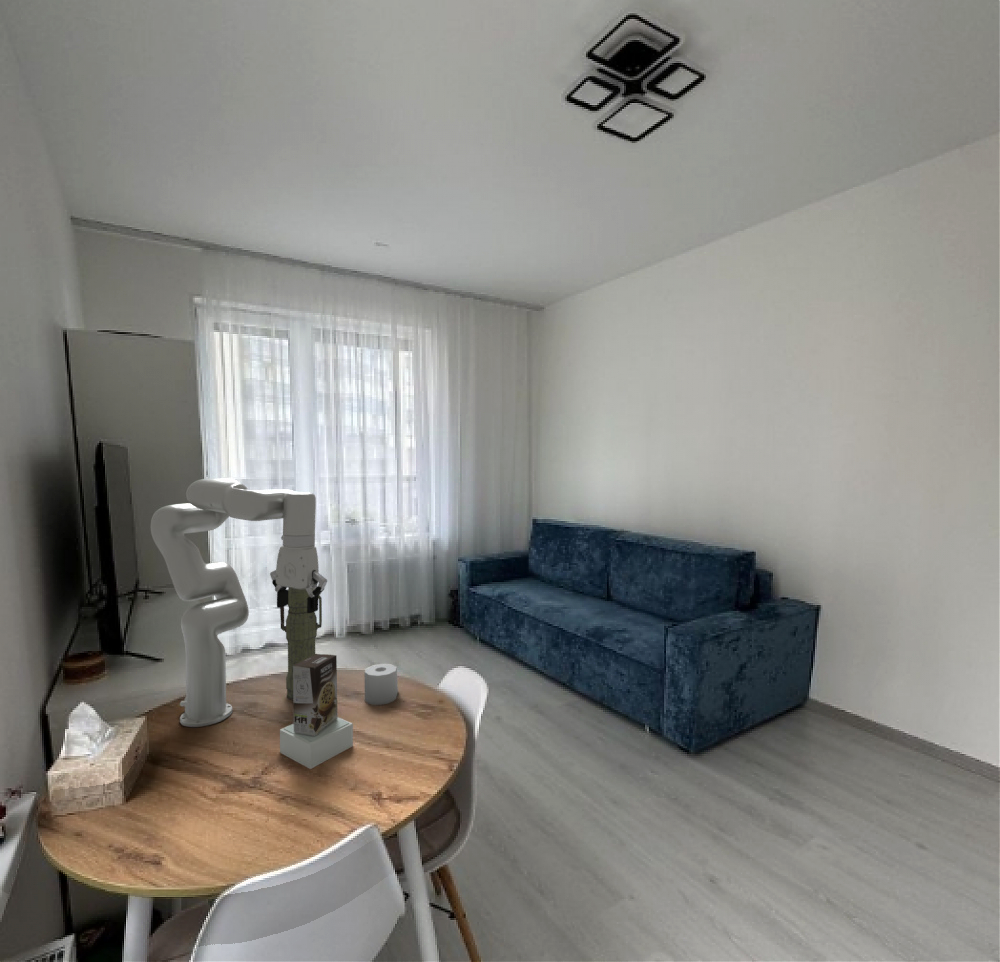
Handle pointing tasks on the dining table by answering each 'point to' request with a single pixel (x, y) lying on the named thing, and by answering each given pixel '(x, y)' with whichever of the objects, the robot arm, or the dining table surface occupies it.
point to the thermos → (299, 631)
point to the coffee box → (315, 694)
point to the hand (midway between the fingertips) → (297, 609)
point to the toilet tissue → (381, 684)
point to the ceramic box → (316, 743)
